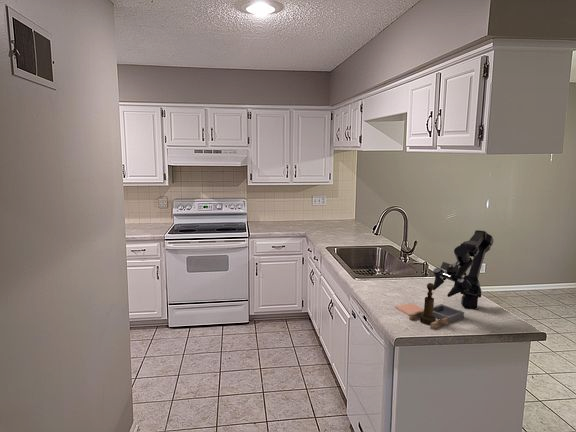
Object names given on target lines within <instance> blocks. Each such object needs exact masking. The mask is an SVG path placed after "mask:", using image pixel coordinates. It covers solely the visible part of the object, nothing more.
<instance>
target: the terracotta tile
mask: <svg viewBox="0 0 576 432" xmlns="http://www.w3.org/2000/svg"><path fill="white" fill-rule="evenodd" d="M394 309H396V310H399V311H400V312H402V313H404V314H405V315H407V316H410V314H412V313H415V312H418V311H421V310H424V308H423V307H420V306H419V305H417V304H415V303H412V302H411V303H406V304H399V305H395V306H394Z"/></svg>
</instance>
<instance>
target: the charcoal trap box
mask: <svg viewBox="0 0 576 432" xmlns="http://www.w3.org/2000/svg"><path fill="white" fill-rule="evenodd" d="M433 315H434V317H435V318H437V319H436V320H439V319H443V318H448V324H450V323H452V322H451V321H453V322H455V321H457V320H456V319H458V320H460V319H459V318H461V319H463V318H464V317H465V312H464V311H462V310H459V309H456V308H454V307H451V306H449V305H445V304H443V303H439V304H438V305H434V306H433ZM462 317H463V318H462ZM454 320H455V321H454ZM449 322H450V323H449Z"/></svg>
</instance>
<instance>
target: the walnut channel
mask: <svg viewBox="0 0 576 432" xmlns="http://www.w3.org/2000/svg"><path fill="white" fill-rule="evenodd" d="M422 314H424V310H421V311H418V312H415V313H412V314H410V316H409V315H408V316H409V318H408V319H409V321H414V320H417V319H420V316H421V315H422ZM447 323H448V318H443V319H440V320H439V319H437V320H436V321H435V322H432V323H431V325H430V324H429V325H430V327H429V329H431V330H435V329H437V327H438V328H440V327H443V326H446V325H448V324H449V323H448V324H447ZM445 324H446V325H445ZM442 325H443V326H442Z"/></svg>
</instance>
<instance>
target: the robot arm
mask: <svg viewBox="0 0 576 432" xmlns="http://www.w3.org/2000/svg"><path fill="white" fill-rule="evenodd" d="M493 245H494V237H493V236H492V235H491V234H489V233H488V232H487V231H485V230H480V229H479V230H478V229H476V230H475V231H474V234H472V236H471V238H469V240H466V241H465V240H464V241H463V242H461V243H460V245H458V246H455V248H454V250H453V252H454V253H453V254H454V256H455V258H456V262H455V263H448V262H446V261H442V263H441V265H440V268H438V267H435V268H434V269H433V270H432V273H433V275H434V282H433V285H434V289H433V290H432V291H435V290H437V289H438V288H439V287H441V286H442V285H443V284H444V283H445V281H446V280H448V281H451V282H454V285H453V286H452V288H451V289H450V291H449V292H448V293H447V295H446V296H447V298H451V297H452V296H454V295H457V294H460V295H462V296H461V300H460V304H461V306H462V307H463V308H464V309H466V308H477V307H478V301H479V300H478V299H479V298H482V292H483V291H482V288H481V284H480V281H479V276H480V273H481V270H482V267H483V262H484V259H485V256H486V254H487V253H488V252H489V251H490V250H491V247H492V246H493ZM444 270H445V271H444ZM468 270H469V273H468V274H467V271H468Z"/></svg>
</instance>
